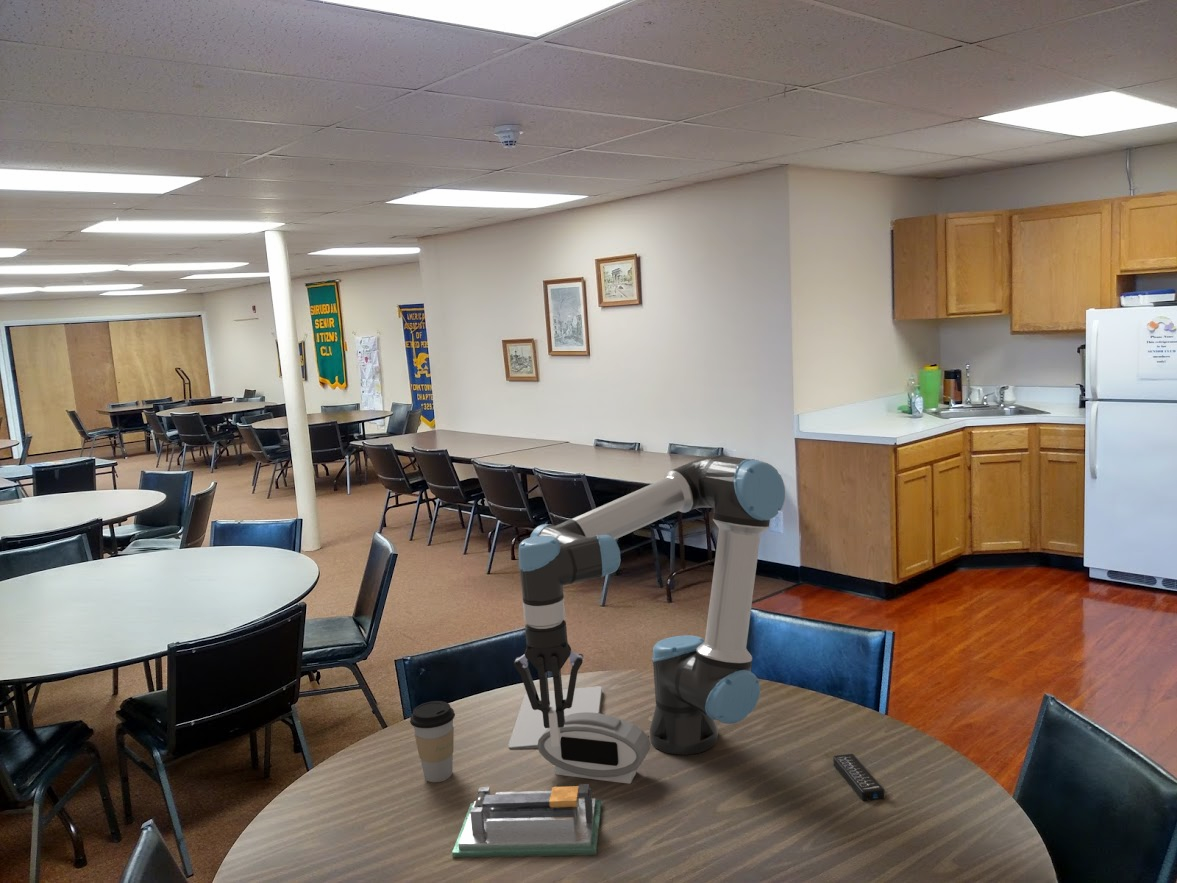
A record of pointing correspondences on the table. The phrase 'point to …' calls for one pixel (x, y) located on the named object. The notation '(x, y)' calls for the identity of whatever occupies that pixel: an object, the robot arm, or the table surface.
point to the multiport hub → (858, 777)
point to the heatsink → (530, 829)
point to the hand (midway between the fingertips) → (556, 742)
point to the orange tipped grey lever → (532, 799)
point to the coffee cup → (434, 739)
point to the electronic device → (531, 720)
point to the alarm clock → (596, 748)
